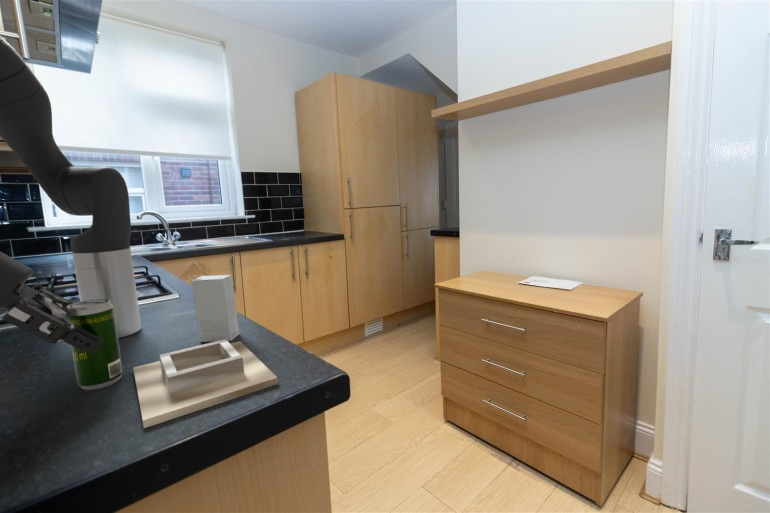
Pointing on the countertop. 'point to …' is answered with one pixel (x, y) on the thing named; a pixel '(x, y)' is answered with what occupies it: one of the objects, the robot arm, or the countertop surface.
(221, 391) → the socket plate
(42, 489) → the countertop surface
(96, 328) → the beer can
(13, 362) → the countertop surface
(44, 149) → the robot arm
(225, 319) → the skincare box
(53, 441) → the countertop surface
